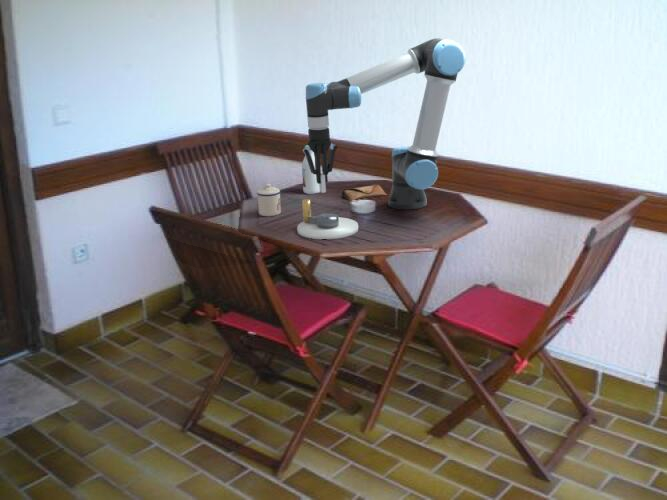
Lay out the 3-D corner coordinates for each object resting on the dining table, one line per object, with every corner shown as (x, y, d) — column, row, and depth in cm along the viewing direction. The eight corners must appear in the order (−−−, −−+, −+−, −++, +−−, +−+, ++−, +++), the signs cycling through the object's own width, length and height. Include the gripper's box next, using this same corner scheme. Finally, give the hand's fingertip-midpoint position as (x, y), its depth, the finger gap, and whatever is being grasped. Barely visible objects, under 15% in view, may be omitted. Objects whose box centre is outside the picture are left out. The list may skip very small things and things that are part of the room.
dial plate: (362, 221, 290) (362, 216, 289) (353, 240, 269) (353, 235, 269) (304, 220, 294) (304, 216, 293) (291, 238, 273) (291, 234, 273)
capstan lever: (343, 223, 282) (342, 201, 279) (330, 229, 275) (329, 207, 273) (310, 217, 289) (309, 197, 287) (297, 223, 283) (296, 202, 281)
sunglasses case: (351, 201, 315) (347, 186, 316) (344, 206, 322) (340, 191, 323) (389, 195, 323) (385, 180, 324) (382, 200, 329) (378, 185, 330)
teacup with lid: (283, 215, 301) (281, 186, 297) (259, 217, 299) (257, 188, 295) (279, 207, 312) (277, 178, 308) (256, 209, 310) (254, 180, 306)
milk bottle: (324, 190, 334) (322, 144, 328) (316, 194, 328) (314, 147, 321) (308, 189, 337) (306, 143, 331) (300, 193, 331) (297, 147, 324)
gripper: (332, 123, 283) (335, 186, 291) (297, 128, 279) (302, 191, 287) (339, 127, 276) (343, 191, 284) (304, 131, 272) (309, 196, 280)
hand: (322, 191), depth 285 cm, fingers closed
